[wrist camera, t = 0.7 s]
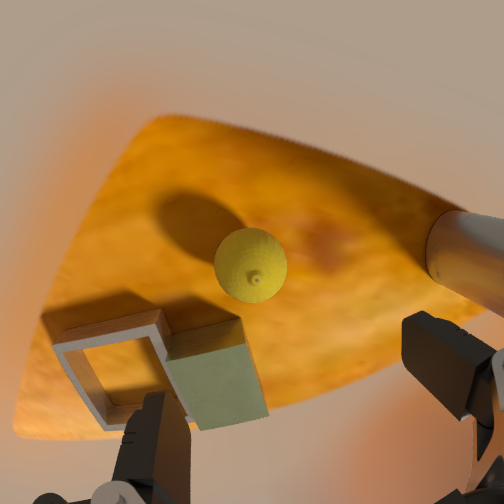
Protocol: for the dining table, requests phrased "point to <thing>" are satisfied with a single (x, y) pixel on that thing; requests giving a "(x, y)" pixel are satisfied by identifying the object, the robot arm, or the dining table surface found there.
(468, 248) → the robot arm
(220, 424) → the square open box
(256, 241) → the lemon
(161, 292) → the dining table surface
